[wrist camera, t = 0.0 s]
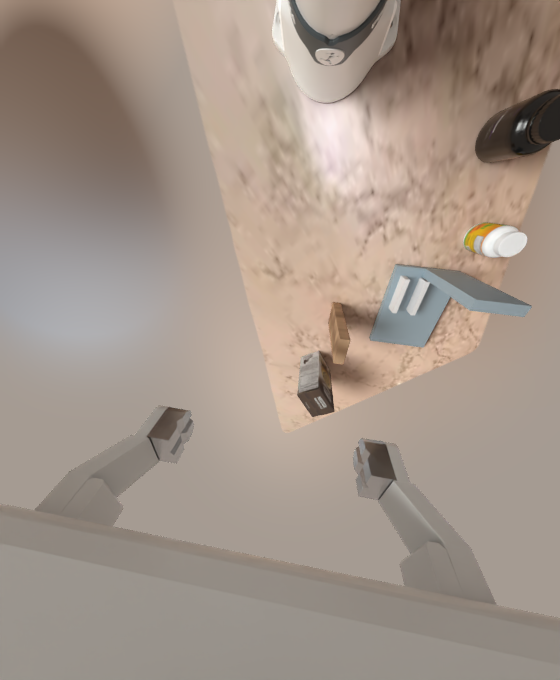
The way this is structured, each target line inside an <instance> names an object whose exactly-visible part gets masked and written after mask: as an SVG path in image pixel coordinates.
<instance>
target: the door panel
mask: <svg viewBox="0 0 560 680" xmlns="http://www.w3.org/2000/svg"><path fill="white" fill-rule="evenodd" d="M328 324H329V332H330V340H331V348H332V357H333V363H335V364H342V365H343V363H344V360H345V357H346V354H347V350H348V347H349V344H350V337H349V333H348V329H347V325H346V321H345V318H344V314H343V310H342V306H341V303H335V302H333V304H332V309H331V313H330V318H329V322H328Z"/></svg>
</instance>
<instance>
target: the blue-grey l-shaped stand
mask: <svg viewBox="0 0 560 680" xmlns="http://www.w3.org/2000/svg"><path fill="white" fill-rule="evenodd" d="M450 297H451V298H453V299H454V300H456V301H457V302H459V303H460V304H461V305H463V306H464V307H466V308H467V309H468V310H470V311H479V312H487V313H495V314H504V315H512V316H520V317H524V316H525V315H526V314H527V313H528V311H529V310H530V309H531V307H532V306H531V305H529V304H526V303H525V302H523V301H520V300H518V299H516V298H514V297H512V296H510V295H508V294H506V293H504V292H502V291H500V290H498V289H496V288H493V287H491V286H489V285H487V284H485V283H483V282H481V281H479V280H477V279H475V278H473V277H471V276H469V275H467V274H464V273H462V272H460V271H454V270H445V269H436V268H427V267H417V266H408V265H399V264H396V265H395V267H394V270H393V273H392V276H391V279H390V281H389V284H388V287H387V290H386V293H385V295H384V298H383V301H382V304H381V307H380V309H379V312H378V315H377V318H376V320H375V323H374V326H373V329H372V332H371V334H370V337H369V338H370V340H371V341H379V342H386V343H394V344H401V345H409V346H416V347H424V345H425V344H426V342H427V340H428V338H429V336H430V334H431V332H432V331H433V329H434V327H435V325H436V323H437V321H438V319H439V317H440V316H441V314H442V312H443V310H444V308H445V306H446V304H447V303H448V301H449V299H450Z"/></svg>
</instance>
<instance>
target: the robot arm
mask: <svg viewBox="0 0 560 680" xmlns="http://www.w3.org/2000/svg"><path fill="white" fill-rule="evenodd" d="M400 3H401V0H277V2H276V8H275V15H274V21H273V28H272V36H273V41H274V44H275V46H276V47H277V48H278V50H279V51H280V52H281V53H282V54H283V56H284V57H285V58H286V60H287V62H288V64H289V67H290V70H291V73H292V75H293V78H294V80H295V82H296V83H297V85H298V87H299V88H300V89H301V91H302V92H303V93H304V94H305V95H306V96H308V97H309V98H311V99H312V100H315V101H317V102H322V103H331V102H335V101H338V100H340V99H342V98H344V97H346V96H347V95H349V94H350V93H351V92H353V91H354V90H355V89H356V88H357V87H358V85H359V84H360V83H361V82H362V81H363V79H364V78H365V76H366V75H367V73H368V72H369V70H370V69H371V67H372V66H373V65H374V63H375V62H376V61H378V60H379V59H380V58H382V57H383V56H384V55H385V54H386V53H388V52H389V51H390V50H391V48H392V47H393V45H394V43H395V40H396V37H397V32H398V22H399V13H400ZM279 22H280V23H279ZM391 25H392V27H391V28H390V26H391ZM190 417H191V411H189V410H183V409H178V408H172V407H167V406H161V405H159V406H158V407H156V408H155V409H154V411H153V412H152V413H151V415H150V416H149V417H148V418H147V420H146V421H145V423H144V424H143V425H142V426H141V428H140V429H139V430H138V432H137V433H136V434H135V435H130V436H129V437H127V438H126V439H124V440H122V441H120V442H119V443H117V444H115V445H114V446H112V447H110V448H108V449H107V450H105V451H103V452H102V453H100V454H98V455H97V456H95V457H93V458H92V459H90V460H88V461H86V462H85V463H83V464H81V465H80V466H78V467H76V468H75V469H73V470H71V471H69V473H68V474H67V475H66V476H65V477H64V478H63V479H62V480H61V481H60V482H59V483H58V485H57V486H56V487H55V488H54V489H53V490H52V491H51V492H50V493H49V494H48V496H47V497H46V498H45V499H44V500H43V501H42V502H41V504H39V506H38V507H37V508H36V509H35V510H30V509H25V508H21V507H16V506H11V505H5V504H1V503H0V680H560V618H558V617H552V616H547V615H543V614H538V613H533V612H528V611H523V610H518V609H514V608H509V607H504V606H499V605H497V604H496V602H495V600H494V598H493V596H492V594H491V591H490V589H489V587H488V585H487V583H486V580H485V578H484V576H483V574H482V571H481V569H480V567H479V565H478V562H477V560H476V558H475V556H474V554H473V552H472V549H471V548H470V547H469V545H468V544H467V543H466V542H465V541H464V540H463V539H462V538H461V536H460V535H459V534H458V533H457V532H456V531H455V530H454V528H453V527H452V526H451V525H450V524H449V523H448V522H447V521H446V519H445V518H444V517H443V516H442V515H441V514H440V513H439V512H438V510H437V509H436V508H435V507H434V506H433V505H432V504H431V503H430V501H429V500H428V499H427V498H426V497H425V496H424V494H423V493H422V492H421V491H420V490H419V489H418V488H417V487H416V485H415V484H411V483H410V480H409V477H408V474H407V471H406V468H405V466H404V463H403V460H402V457H401V454H400V452H399V448H398V446H397V445H396V444H394V443H387V442H383V441H376V440H369V439H363V438H362V439H360V440H359V442H358V443H359V447H357V448H356V449H355V451H354V457H353V461H354V462H353V463H354V469H355V471H356V472H357V474H358V477H357V479H356V483H357V490H358V496H360V497H365V498H370V499H375V500H379V501H378V502H379V504H380V505H381V507H382V508H383V510H384V512H385V513H386V515H387V517H388V518H389V520H390V521H391V523H392V525H393V526H394V528H395V529H396V531H397V533H398V534H399V536H400V538H401V539H402V541H403V542H404V544H405V546H406V547H407V549H408V550H409V552H410V555H409V556H407V557H406V558H405V559H403V560H402V561H401V563H400V568H401V572H402V577H403V581H404V585H405V586H401V585H396V584H391V583H386V582H382V581H377V580H372V579H367V578H362V577H357V576H352V575H348V574H342V573H337V572H333V571H328V570H323V569H318V568H313V567H309V566H303V565H298V564H294V563H289V562H284V561H279V560H274V559H269V558H265V557H260V556H255V555H249V554H245V553H240V552H235V551H230V550H225V549H221V548H216V547H211V546H206V545H201V544H196V543H191V542H186V541H182V540H176V539H172V538H167V537H162V536H157V535H152V534H147V533H142V532H138V531H133V530H128V529H123V528H118V527H113V525H114V523H115V522H116V520H117V518H118V517H119V515H120V513H121V512H122V510H123V505H122V504H121V503H120V501H119V500H118V499H117V497H118V496H119V495H120V494H121V493H123V492H124V491H125V490H126V489H127V488H129V487H130V486H131V485H132V484H133V483H134V482H136V481H137V480H138V479H139V478H140V477H141V476H143V475H144V474H145V473H146V472H148V471H149V470H150V469H151V468H152V467H154V466H155V465H156V464H157V463H158V462H159V461H164V462H171V463H177V462H178V460H179V458H180V456H181V454H182V453H183V450H184V446H183V444H185V443H186V442H187V441H189V439H190V437H191V435H192V431H193V427H194V426H193V425H194V424H193V421H192V420H191V419H190Z"/></svg>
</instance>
